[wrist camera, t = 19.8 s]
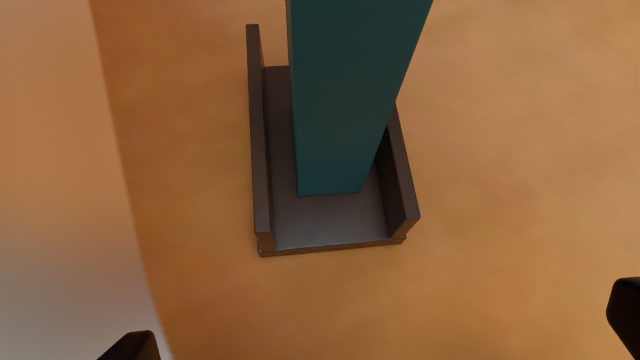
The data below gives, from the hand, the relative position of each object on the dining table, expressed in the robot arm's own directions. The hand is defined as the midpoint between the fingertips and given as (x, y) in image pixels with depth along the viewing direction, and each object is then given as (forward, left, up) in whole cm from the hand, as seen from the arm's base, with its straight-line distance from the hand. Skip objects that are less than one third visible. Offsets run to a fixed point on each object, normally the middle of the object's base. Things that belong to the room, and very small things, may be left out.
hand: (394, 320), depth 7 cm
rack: (+6, +6, -10) cm, 13 cm away
